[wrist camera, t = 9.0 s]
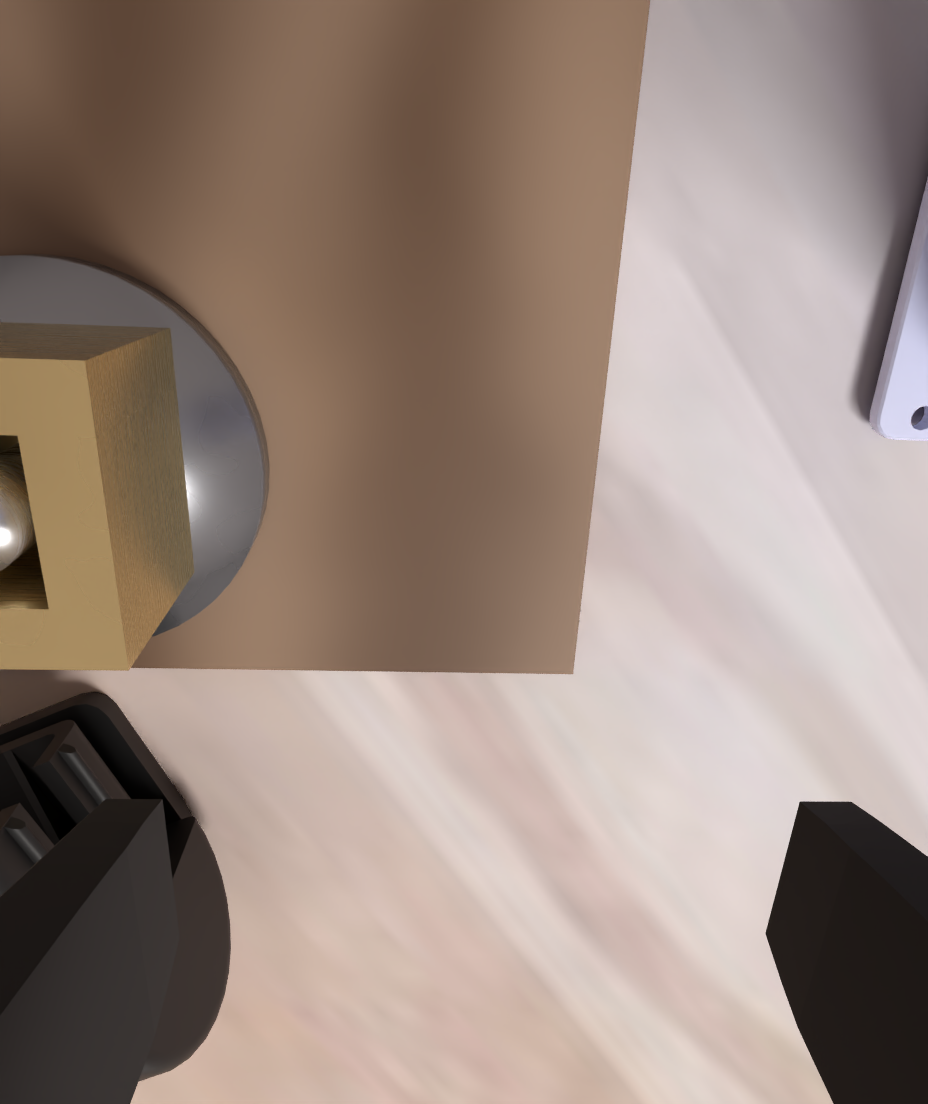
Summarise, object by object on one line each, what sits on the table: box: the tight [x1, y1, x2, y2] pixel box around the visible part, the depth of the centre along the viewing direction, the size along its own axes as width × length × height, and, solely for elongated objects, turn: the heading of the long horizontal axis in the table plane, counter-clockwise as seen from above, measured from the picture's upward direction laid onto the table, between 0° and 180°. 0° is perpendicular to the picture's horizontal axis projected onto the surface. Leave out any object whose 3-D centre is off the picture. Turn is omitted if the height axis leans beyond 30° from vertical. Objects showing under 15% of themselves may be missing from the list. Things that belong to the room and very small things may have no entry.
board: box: [0, 0, 650, 674], centre depth 15 cm, size 20×18×1 cm
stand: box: [0, 254, 270, 637], centre depth 14 cm, size 8×8×4 cm
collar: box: [0, 322, 195, 670], centre depth 14 cm, size 5×5×4 cm
